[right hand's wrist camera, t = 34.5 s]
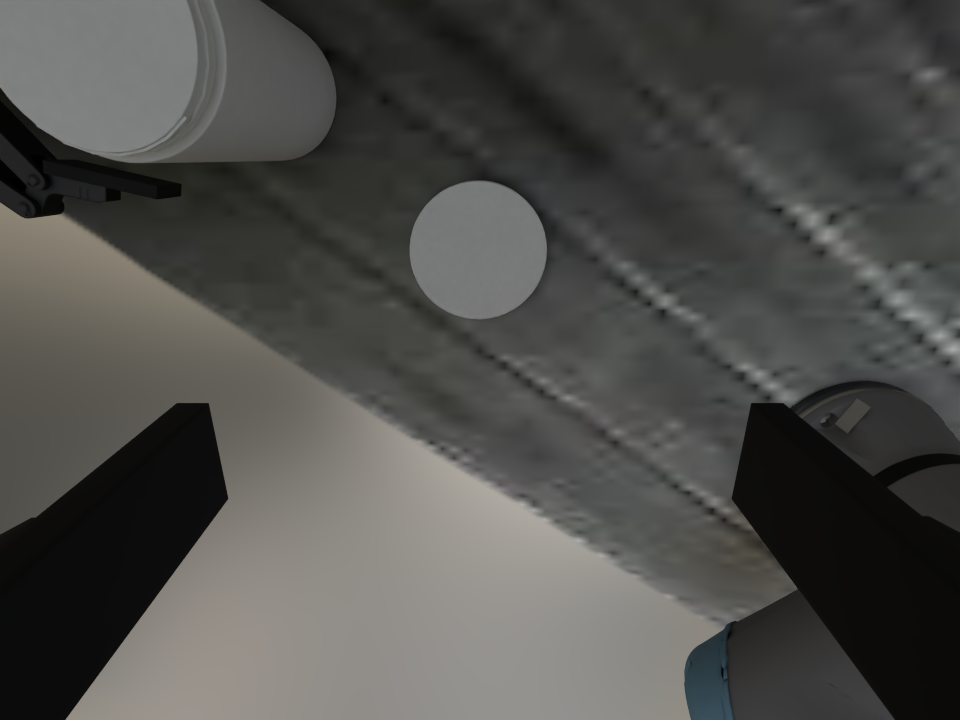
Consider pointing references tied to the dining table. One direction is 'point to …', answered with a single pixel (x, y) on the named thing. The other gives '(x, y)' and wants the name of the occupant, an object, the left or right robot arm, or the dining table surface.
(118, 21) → the jar
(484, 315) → the lid
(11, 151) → the left robot arm
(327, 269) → the dining table surface
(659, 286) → the dining table surface
